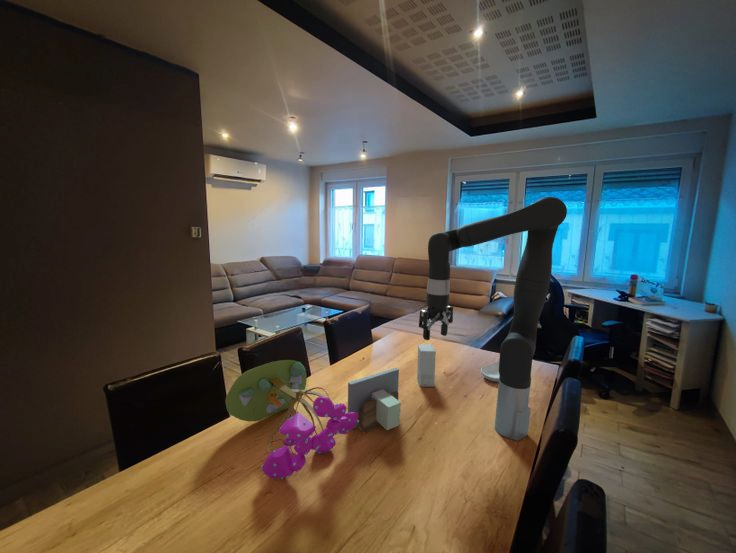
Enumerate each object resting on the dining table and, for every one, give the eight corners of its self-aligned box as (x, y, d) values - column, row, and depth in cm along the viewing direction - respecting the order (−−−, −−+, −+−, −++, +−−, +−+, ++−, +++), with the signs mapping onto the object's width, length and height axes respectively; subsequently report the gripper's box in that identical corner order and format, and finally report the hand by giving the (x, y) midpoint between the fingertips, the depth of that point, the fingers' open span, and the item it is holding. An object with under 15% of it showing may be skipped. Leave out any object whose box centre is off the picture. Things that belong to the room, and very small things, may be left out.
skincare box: (434, 387, 133) (436, 351, 130) (418, 386, 133) (420, 351, 130) (431, 377, 141) (433, 344, 139) (416, 377, 141) (417, 343, 139)
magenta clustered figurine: (302, 329, 110) (364, 383, 84) (316, 391, 122) (373, 455, 96) (212, 371, 94) (253, 453, 68) (237, 438, 106) (281, 529, 80)
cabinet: (399, 424, 103) (400, 402, 101) (387, 430, 100) (388, 407, 98) (382, 410, 110) (383, 389, 109) (370, 414, 107) (371, 393, 106)
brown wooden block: (397, 418, 111) (398, 392, 109) (364, 433, 103) (364, 405, 101) (390, 413, 114) (391, 388, 112) (357, 427, 106) (358, 399, 104)
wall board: (397, 410, 115) (398, 369, 113) (350, 430, 104) (350, 384, 101) (394, 408, 117) (395, 367, 114) (347, 427, 105) (348, 382, 103)
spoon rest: (496, 388, 134) (498, 372, 133) (474, 376, 144) (475, 361, 142) (530, 375, 146) (532, 360, 145) (507, 365, 156) (508, 351, 155)
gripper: (431, 296, 101) (428, 344, 104) (460, 291, 109) (457, 336, 112) (414, 291, 107) (412, 338, 110) (443, 287, 115) (441, 330, 118)
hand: (435, 337), depth 111 cm, fingers open, 8 cm apart
